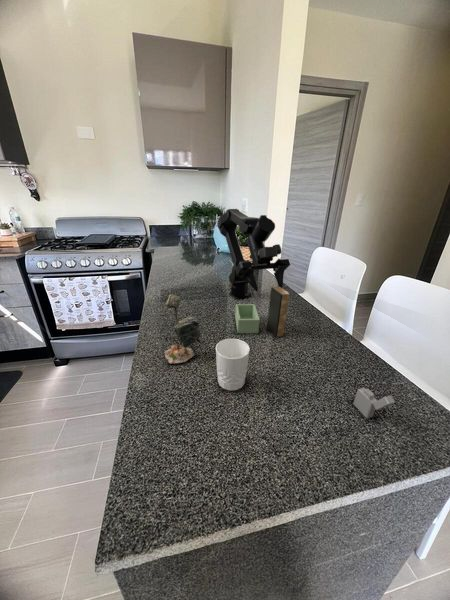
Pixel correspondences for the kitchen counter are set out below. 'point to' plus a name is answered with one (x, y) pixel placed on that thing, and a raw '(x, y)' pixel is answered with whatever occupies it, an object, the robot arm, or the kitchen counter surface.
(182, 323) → the plant with pod
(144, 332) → the kitchen counter surface
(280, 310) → the eraser
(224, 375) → the white cup
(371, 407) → the grey angled bracket
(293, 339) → the kitchen counter surface
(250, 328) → the holder
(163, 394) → the kitchen counter surface
